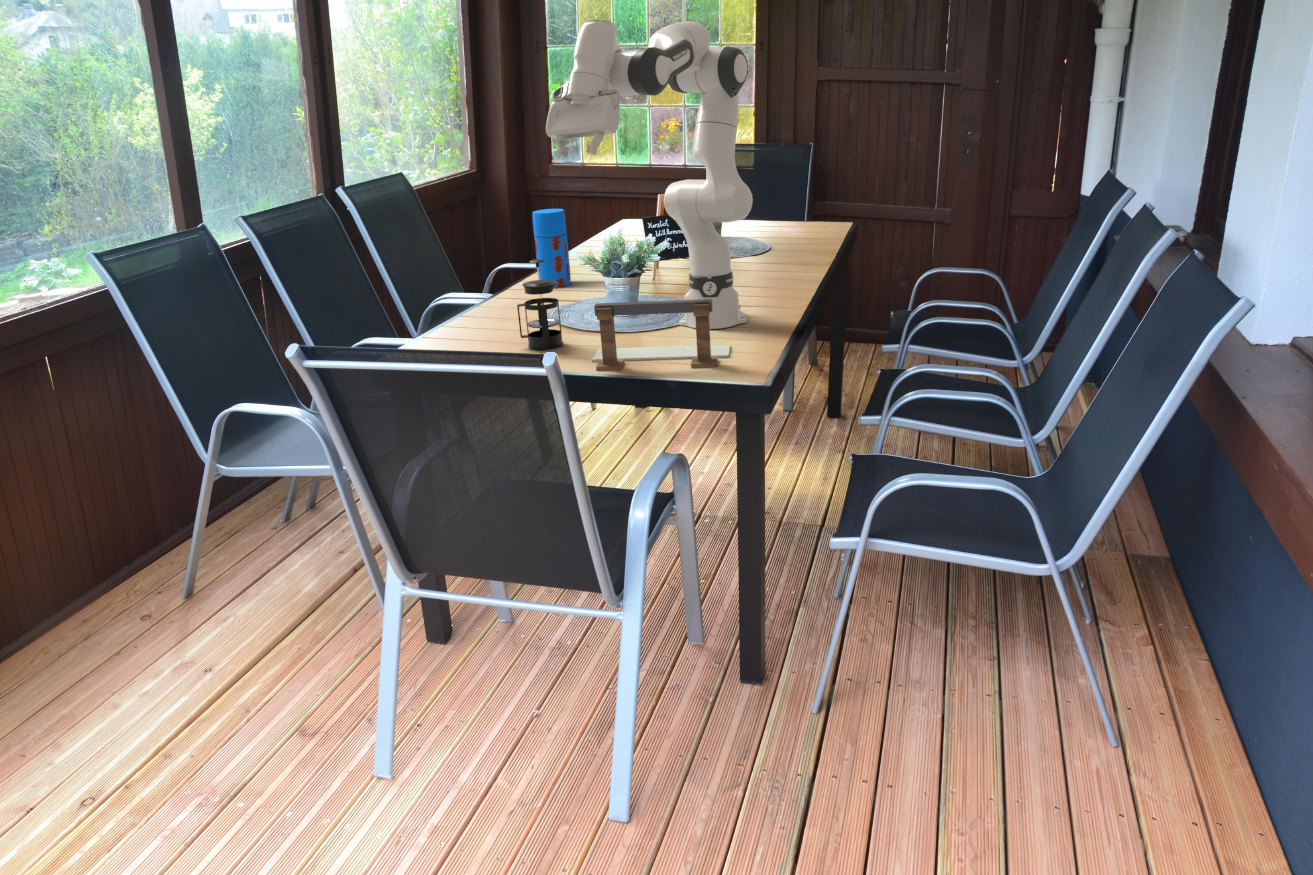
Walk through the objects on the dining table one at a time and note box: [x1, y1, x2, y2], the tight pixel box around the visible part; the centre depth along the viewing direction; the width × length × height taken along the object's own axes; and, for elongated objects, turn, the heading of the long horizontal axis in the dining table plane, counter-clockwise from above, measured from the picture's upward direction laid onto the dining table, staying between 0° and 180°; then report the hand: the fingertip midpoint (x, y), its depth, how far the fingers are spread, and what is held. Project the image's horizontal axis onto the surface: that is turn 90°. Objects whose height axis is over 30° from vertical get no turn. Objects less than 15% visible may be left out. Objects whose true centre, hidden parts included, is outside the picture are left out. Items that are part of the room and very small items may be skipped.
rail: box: [593, 299, 713, 317], centre depth 242 cm, size 2×28×2 cm, turn 84°
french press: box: [516, 258, 564, 351], centre depth 268 cm, size 12×9×23 cm
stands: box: [595, 304, 719, 371], centre depth 244 cm, size 6×29×15 cm, turn 83°
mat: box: [591, 344, 731, 363], centre depth 256 cm, size 10×34×1 cm, turn 83°
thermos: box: [532, 208, 572, 289], centre depth 344 cm, size 11×11×25 cm
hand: (576, 155), depth 223 cm, fingers open, 8 cm apart
